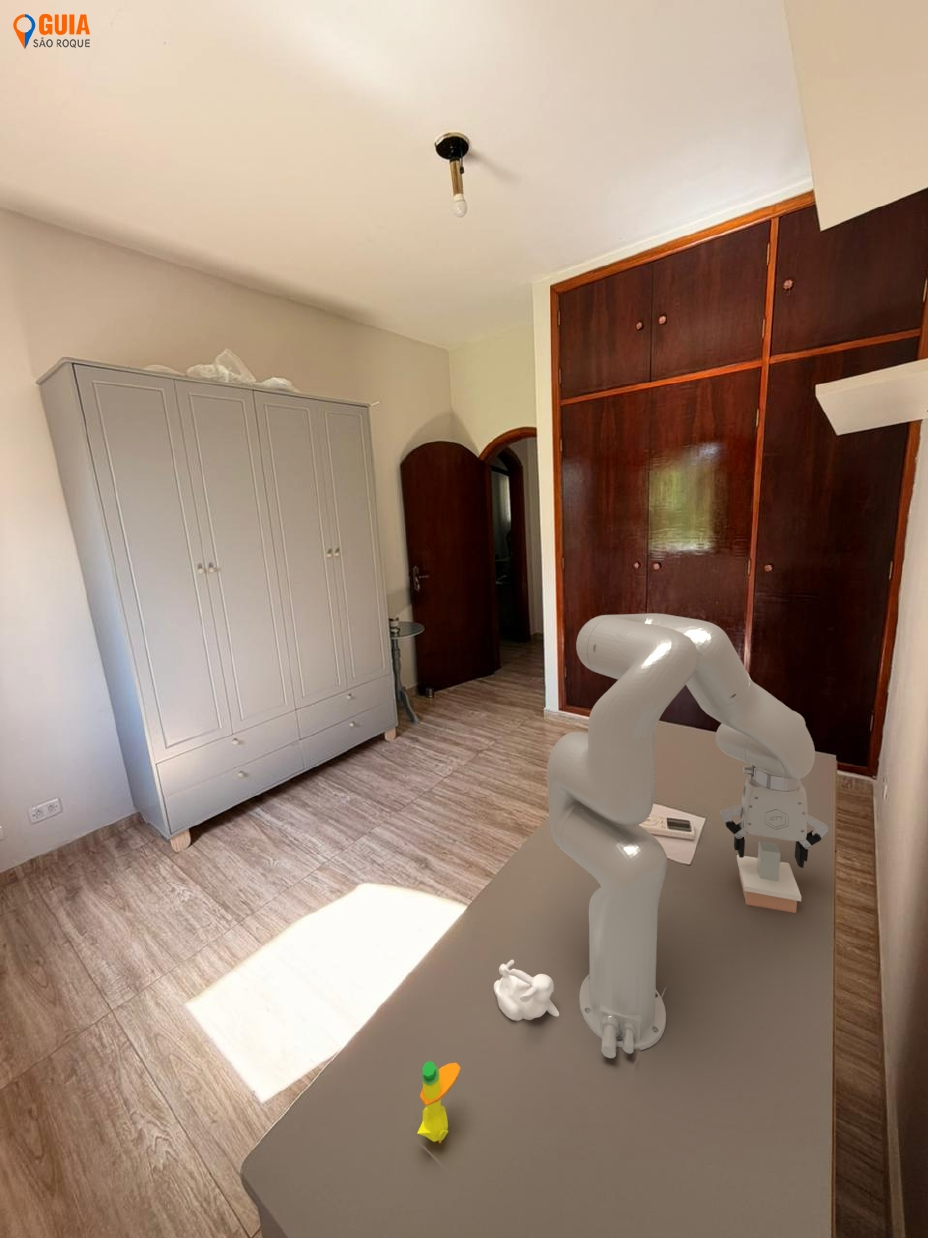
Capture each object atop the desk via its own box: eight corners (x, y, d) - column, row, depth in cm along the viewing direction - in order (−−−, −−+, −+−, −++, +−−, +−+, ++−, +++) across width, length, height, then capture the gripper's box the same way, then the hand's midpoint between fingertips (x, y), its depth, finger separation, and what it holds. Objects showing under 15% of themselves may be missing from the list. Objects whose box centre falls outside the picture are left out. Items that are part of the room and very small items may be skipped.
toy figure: (454, 1104, 66) (448, 1032, 63) (471, 1129, 63) (466, 1054, 61) (411, 1147, 62) (403, 1071, 59) (428, 1175, 59) (421, 1097, 56)
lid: (800, 901, 89) (804, 867, 88) (744, 890, 93) (746, 858, 91) (788, 867, 98) (791, 836, 96) (736, 859, 101) (738, 828, 99)
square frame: (795, 919, 91) (797, 898, 90) (745, 910, 94) (747, 889, 93) (784, 888, 98) (786, 868, 97) (738, 880, 101) (740, 861, 100)
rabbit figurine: (571, 1020, 76) (570, 968, 74) (547, 1064, 70) (546, 1009, 68) (504, 979, 83) (502, 930, 81) (478, 1016, 77) (475, 965, 75)
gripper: (725, 780, 90) (720, 862, 94) (839, 793, 84) (830, 881, 88) (719, 760, 97) (715, 837, 101) (825, 771, 91) (817, 853, 95)
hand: (769, 857), depth 94 cm, fingers open, 9 cm apart
